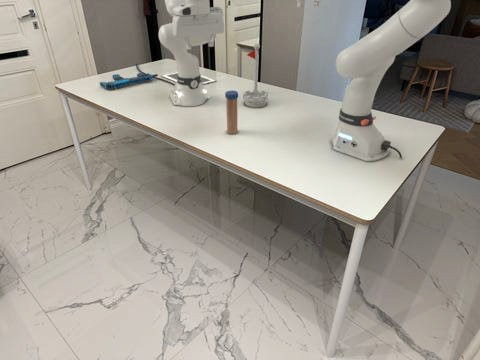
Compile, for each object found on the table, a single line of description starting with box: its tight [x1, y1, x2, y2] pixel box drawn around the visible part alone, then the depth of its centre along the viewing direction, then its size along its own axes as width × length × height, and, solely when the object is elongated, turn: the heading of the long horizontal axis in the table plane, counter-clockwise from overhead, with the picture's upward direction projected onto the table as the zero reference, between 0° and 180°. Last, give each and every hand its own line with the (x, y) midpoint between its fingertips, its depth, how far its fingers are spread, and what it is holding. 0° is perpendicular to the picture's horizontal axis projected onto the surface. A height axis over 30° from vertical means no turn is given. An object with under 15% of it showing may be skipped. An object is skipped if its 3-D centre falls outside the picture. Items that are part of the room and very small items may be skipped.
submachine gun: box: [99, 72, 159, 90], centre depth 210 cm, size 34×4×25 cm
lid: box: [224, 90, 239, 99], centre depth 140 cm, size 5×5×2 cm
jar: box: [225, 97, 238, 135], centre depth 144 cm, size 5×5×17 cm
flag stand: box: [242, 42, 269, 108], centre depth 170 cm, size 13×13×30 cm
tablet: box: [161, 71, 217, 85], centre depth 215 cm, size 32×20×1 cm, turn 41°
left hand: (200, 47), depth 131 cm, fingers open, 8 cm apart
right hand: (308, 6), depth 134 cm, fingers open, 8 cm apart
